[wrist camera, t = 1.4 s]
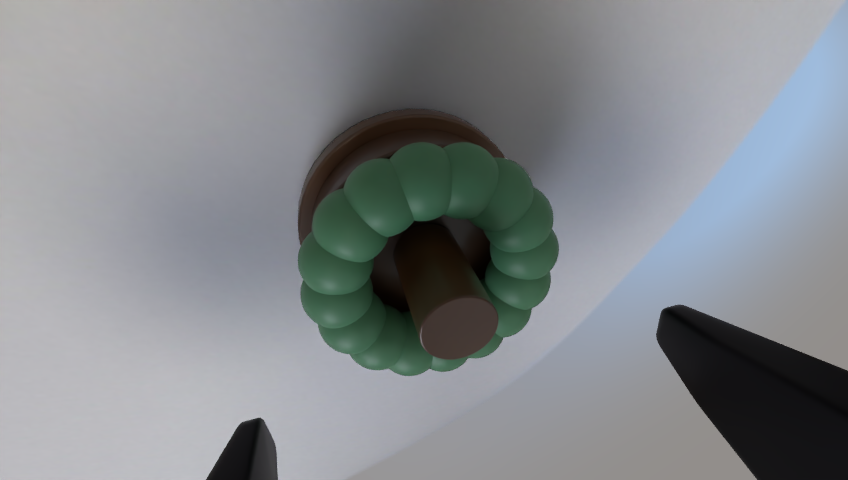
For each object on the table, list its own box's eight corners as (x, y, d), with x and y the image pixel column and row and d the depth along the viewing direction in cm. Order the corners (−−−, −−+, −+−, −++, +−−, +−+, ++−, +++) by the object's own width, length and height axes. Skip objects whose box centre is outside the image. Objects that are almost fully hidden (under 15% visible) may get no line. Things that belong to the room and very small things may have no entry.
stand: (511, 277, 18) (591, 391, 13) (327, 322, 17) (338, 465, 12) (508, 88, 14) (622, 149, 9) (268, 132, 13) (246, 229, 8)
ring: (537, 314, 16) (564, 353, 14) (331, 368, 15) (334, 416, 13) (543, 106, 12) (581, 127, 10) (262, 161, 11) (254, 193, 9)
